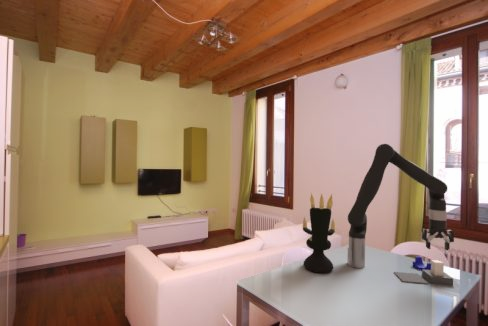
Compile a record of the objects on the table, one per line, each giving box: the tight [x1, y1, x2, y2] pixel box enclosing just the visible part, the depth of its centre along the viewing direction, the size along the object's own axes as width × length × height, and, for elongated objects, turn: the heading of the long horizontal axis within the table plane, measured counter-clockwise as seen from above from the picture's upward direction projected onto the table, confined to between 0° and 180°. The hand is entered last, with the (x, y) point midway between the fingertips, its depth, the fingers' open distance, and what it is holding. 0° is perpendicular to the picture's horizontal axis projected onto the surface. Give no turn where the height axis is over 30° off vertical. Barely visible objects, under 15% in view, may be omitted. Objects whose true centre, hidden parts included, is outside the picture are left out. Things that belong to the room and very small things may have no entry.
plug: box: [430, 259, 445, 276], centre depth 142 cm, size 4×4×10 cm
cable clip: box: [412, 256, 431, 271], centre depth 156 cm, size 12×4×6 cm, turn 0°
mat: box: [393, 271, 429, 285], centre depth 144 cm, size 12×12×1 cm
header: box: [421, 269, 454, 286], centre depth 142 cm, size 10×10×4 cm
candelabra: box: [302, 192, 336, 274], centre depth 154 cm, size 19×22×45 cm
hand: (437, 249), depth 142 cm, fingers open, 8 cm apart
